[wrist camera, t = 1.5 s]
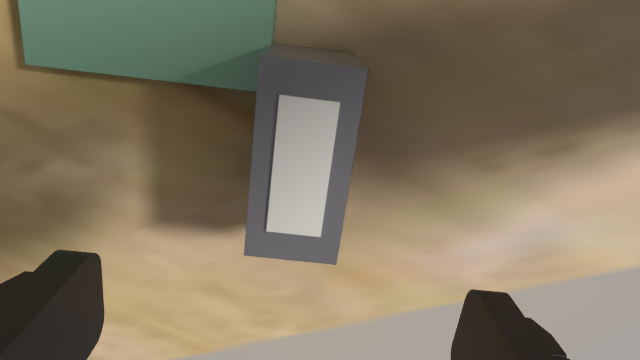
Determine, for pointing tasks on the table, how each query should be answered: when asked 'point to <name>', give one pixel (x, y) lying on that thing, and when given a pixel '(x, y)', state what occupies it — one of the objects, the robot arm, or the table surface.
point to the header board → (151, 38)
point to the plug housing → (302, 151)
